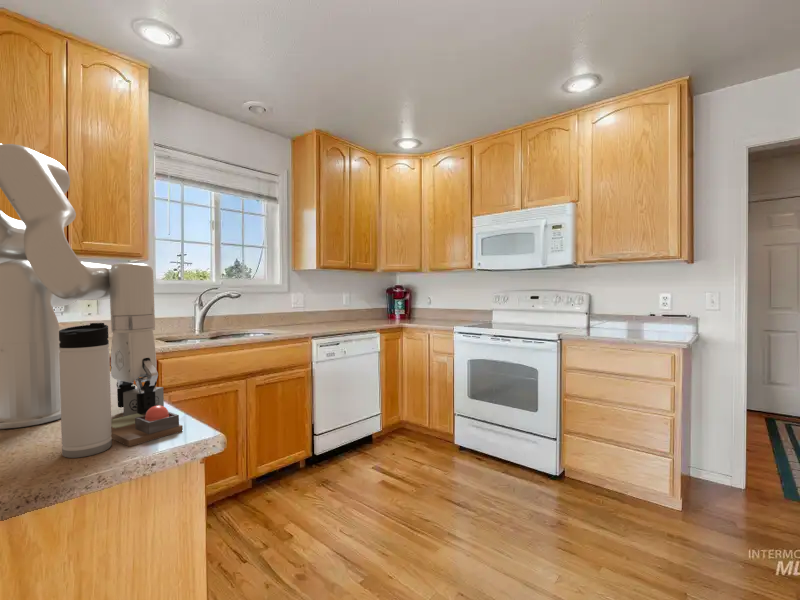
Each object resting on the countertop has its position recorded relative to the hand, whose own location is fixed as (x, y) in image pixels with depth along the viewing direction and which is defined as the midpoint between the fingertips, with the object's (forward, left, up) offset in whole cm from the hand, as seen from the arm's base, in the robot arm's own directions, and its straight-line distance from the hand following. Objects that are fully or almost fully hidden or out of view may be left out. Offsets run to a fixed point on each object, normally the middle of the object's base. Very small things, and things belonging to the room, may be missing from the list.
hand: (136, 408), depth 83 cm
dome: (+16, -3, 0) cm, 16 cm away
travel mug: (+14, -13, -1) cm, 19 cm away
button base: (+11, -4, -1) cm, 12 cm away
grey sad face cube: (+1, +1, -2) cm, 2 cm away
